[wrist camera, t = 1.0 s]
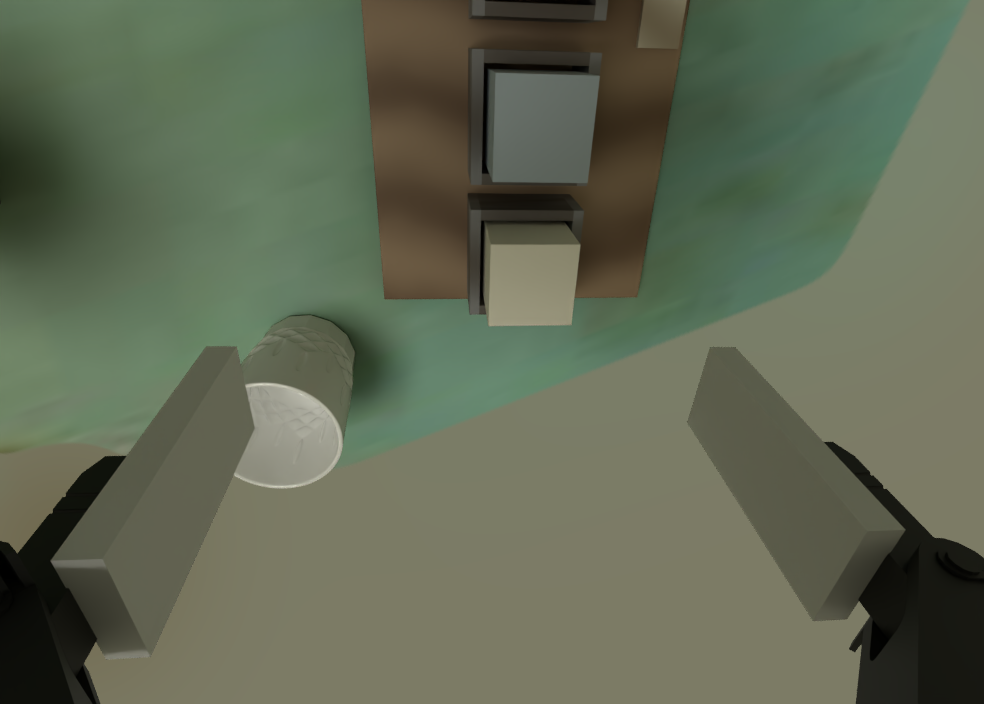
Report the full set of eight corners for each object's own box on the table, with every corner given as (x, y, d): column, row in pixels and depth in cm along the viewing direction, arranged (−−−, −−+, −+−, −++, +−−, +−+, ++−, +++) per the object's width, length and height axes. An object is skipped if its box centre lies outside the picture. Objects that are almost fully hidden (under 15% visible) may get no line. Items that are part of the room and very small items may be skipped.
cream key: (483, 217, 32) (490, 244, 28) (562, 218, 33) (580, 244, 28) (482, 291, 35) (488, 326, 30) (555, 290, 35) (571, 324, 31)
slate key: (487, 68, 28) (495, 72, 24) (575, 71, 29) (599, 75, 24) (485, 162, 31) (492, 181, 26) (567, 163, 31) (587, 183, 27)
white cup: (377, 327, 39) (359, 407, 31) (346, 409, 43) (322, 501, 34) (267, 291, 37) (215, 365, 29) (244, 379, 41) (191, 470, 32)
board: (351, -160, 26) (333, -203, 22) (705, -138, 28) (756, -172, 23) (386, 292, 38) (378, 325, 34) (632, 290, 40) (656, 322, 35)
